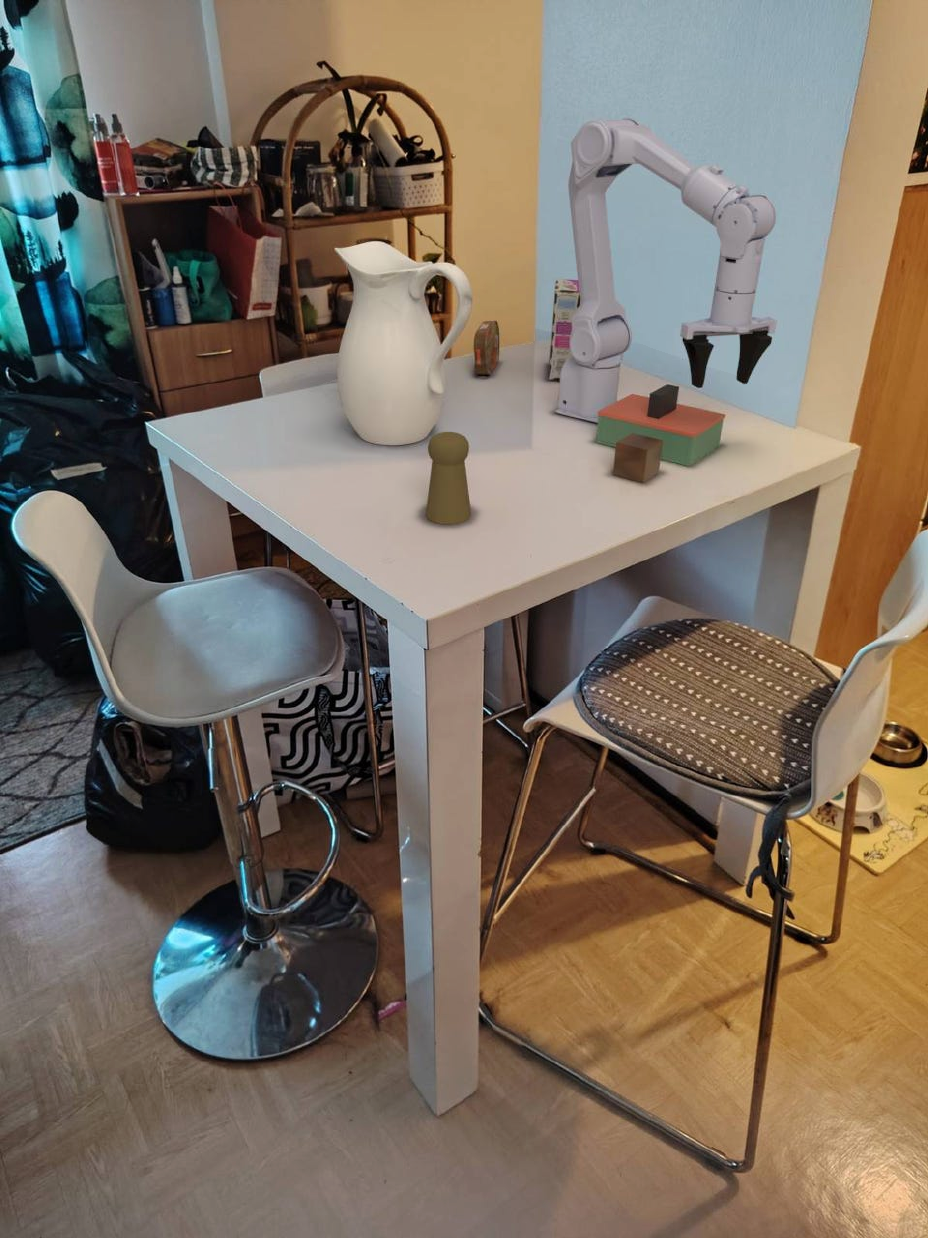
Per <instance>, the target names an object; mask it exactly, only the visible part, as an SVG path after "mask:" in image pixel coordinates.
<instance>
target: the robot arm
mask: <svg viewBox="0 0 928 1238" xmlns="http://www.w3.org/2000/svg"><path fill="white" fill-rule="evenodd" d="M570 147H571V157H572V162H571V168H570V172H569V177H568V183H567V184H568V187H567V188H568V196H569V206H570V207H569V208H570V216H571V224H572V225H571V226H572V234H573V244H574V252H575V253H574V255H575V263H576V271H577V280H578V283H579V292H580V306H579V308H578V309H577V311H576V312H575V314H574V315H573V317H572V319H571V324H572V331H571V335H570V339H569V347H570V352H571V354H572V356H573V357H571V358H569V359H568V360H567V361H566V362H565V363H564V365H563V368H562V370H561V375H560V381H559V387H558V401H557V408H556V409H555V413H556V414H559V415H563V416H566V417H572V418H575V419H580V420H584V421H587V422H592V423H595V424H598V418H599V415H598V411H600V410H602V409H604V408H606V407H607V406H609V405H611V404H613V403H615V402H617V401H618V391H619V382H620V373H621V372H620V371H621V363H622V361H623V357H624V353H626V352H627V351H628V350H629V349H630V347H631V344H632V341H633V332H632V328H631V325H630V324H629V322H628V320H627V317H626V308H625V307H624V306H623V305H622V304H621V303H620V302H619V301H618V300H617V298H616V295H615V284H614V273H613V264H612V253H611V242H610V231H609V230H610V229H609V220H608V209H607V208H608V207H607V198H606V192H607V190H608V189H609V188H610V186H611V185H612V184H613V182H614V181H615V179H617V177H618V176H619V175H621V174H622V173H623V172H625V171H626V170H628V169H629V168H630V167H631V166H633V165H634V164H635V165H636V164H638V165H640V166H642V167H643V168H645V169H646V170H648V171H649V172H651V173H653V174H654V175H656V176H658V177H659V178H661V179H663V181H666V182H667V183H668V184H670V185H672V186H673V187H675V188H677V189H678V190H679V191H680V196H681V197H680V198H681V200H682V204H683V205H684V206H686V207H688V208H689V209H690V210H692V211H693V212H694V213H696V214H697V215H698V216H700V217H701V218H703V219H704V220H705V221H707V222H708V223H709V224H711V225H712V226H714V227H715V229H716V234H717V236H718V237H719V240H720V246H719V247H720V248H719V258H718V264H717V271H716V278H715V284H714V291H713V296H712V302H711V310H710V316H709V318H704V319H698V320H693V321H687V322H681V327H680V334H679V337H681V338H682V340H681V341H682V343H683V346H684V348H685V352H686V354H687V358H688V363H689V367H690V368H689V369H690V379H691V385H693V386H694V387H696V389H703V386H704V384H705V378H706V372H707V367H708V363H709V360H710V357H711V355H712V351H713V349H714V347H715V345H714V344H713V343H711V342H709V339H708V338H711V337H723V336H736V335H739V356H738V361H737V362H738V364H737V368H736V369H737V370H736V381H737V382H739V383H740V384H742V385H748V383H749V381H750V379H751V376H752V374H753V372H754V369H755V368H756V366H757V364H758V362H759V361H760V359H761V358H762V356H763V355H764V353H765V352H766V350H767V349H768V348H769V347H770V346H771V345H772V341H773V337H772V336H771V335H770V334H775V333H776V328H777V323H778V320H777V319H776V318H773V317H771V316H761V317H760V316H758V317H757V316H753V310H754V309H753V308H754V304H755V299H756V294H757V293H756V292H757V288H758V281H759V276H760V270H761V264H762V259H763V254H764V253H763V252H764V248H765V241H766V238H767V236H768V235H770V234H771V232H772V231H773V229H774V228H775V225H776V222H777V211H776V206H775V205H774V204H773V202H772V201H771V199H769V198H768V196H767V195H765V194H762V193H758V194H757V193H755V194H752V195H750V193H749V191H750V189H749V187H748V186H746V185H744V184H742V185H738V184H737V183H735V182H734V181H733V180H731V179H730V178H729V177H727V176H726V175H724V174H723V173H724V168H723V167H721V166H720V165H718V164H714V165H709V164H704V165H701V166H699V167H696V166H695V165H693V164H692V163H691V162H690V161H688V160H687V159H686V158H684V157H683V156H682V155H681V154H680V153H678V152H677V151H676V150H675V149H673V147H671V146H669V144H668V143H666V142H664V141H663V140H662V139H661V138H660V137H658V136H657V135H656V134H655V133H654V132H653V131H652V129H651V128H650V127H649V126H646V125H645V124H641V123H640V122H639V121H638V120H636V119H635V118H631V117H625V118H621V119H609V120H608V119H606V120H605V119H604V120H600V119H591V120H588V121H586V122H585V123H584V124H583V125H582V126H581V127H580V128H579V130H578V131H577V133H576V134H575V136H574V137H573V139H571V142H570ZM768 334H769V335H768Z"/></svg>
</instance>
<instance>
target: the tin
mask: <svg viewBox="0 0 928 1238" xmlns="http://www.w3.org/2000/svg"><path fill="white" fill-rule="evenodd" d="M473 352H474V353H473V354H474V355H473V356H474V371H475V374H476V375H478V376H482V375H483V376H491V375H492V374H493V372H494V370H495V368H496V366H497V364H498V363H499V357H500V328H499V323H498V321H497V320H486V321H483V322H482V323H481V324H480V325H479V327H478V329H476V331H475V333H474V336H473Z"/></svg>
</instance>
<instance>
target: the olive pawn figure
mask: <svg viewBox="0 0 928 1238" xmlns="http://www.w3.org/2000/svg"><path fill="white" fill-rule="evenodd" d="M469 452H470V445H469V441H468V439H467V438H466V437H465V435H463V434H461V433H459V432H454V431H442V432H438V433H435V434H434V435H432V436H431V437H430V439H429V442H428V445H427V453H428V456H429V458H430V460H432V461H431V462H432V463H431V471H430V477H429V486H428V492H427V493H428V495H427V500H426V509H425V517H426V519H427V520H429V521H430V522H432V523H435V524H439V525H458V524H462V523H465V522H467V521H468V520H469V519H471V517H472V510H471V509H472V508H471V503H470V501H471V500H470V494H469V486H468V477H467V471H466V463H465V461H466V459H467V458H468V456H469Z"/></svg>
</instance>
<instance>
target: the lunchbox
mask: <svg viewBox="0 0 928 1238" xmlns="http://www.w3.org/2000/svg"><path fill="white" fill-rule="evenodd" d="M724 420H725V418H724V419H722V420H721V421H719V422H718V423H716V424H715V425H713V426H712V427H710V428H709V429H707V430H706V431H704V432H703V433H701V434H699V435H698V436H696V437H695V438H692V437H688V436H684V435H680V434H675V433H671V432H667V431H663V430H659V429H655V428H650V427H646V426H642V425H638V424H634V423H630V422H625V421H621V420H617V419H613V418H609V417H605V416H600V415H599V418H598V423H597V428H596V429H597V431H596V439H595V442H596V443H597V444H600V445H605V446H609V447H611V448H612V447H613V448H616V442H618V441H619V440H621V439H623V438H624V437H626V436H628V435H630V434H631V433H635V434H639V435H643V436H647V437H651V438H655V439H659V440H663V446H662V453H661V460H663V461H667V462H670V463H675V464H677V465H678V464H679V465H682V466H687V467H691V466H692V465H694V464H695V463H697V462H698V461H700V460H701V459H702V458H704V457H705V456H706V455H708V454H710V453H711V452H712V451H714V450H715V449H716V448H718V447H719V446H720V444H721V437H722V433H723V426H724Z"/></svg>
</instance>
